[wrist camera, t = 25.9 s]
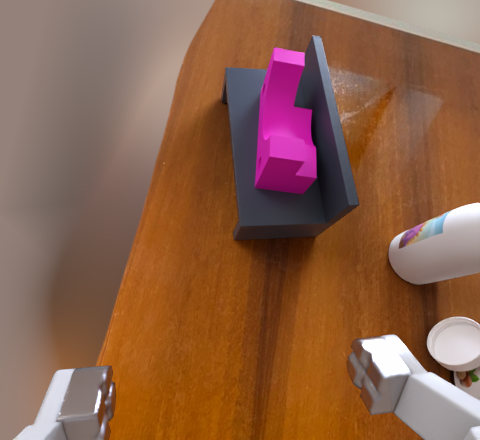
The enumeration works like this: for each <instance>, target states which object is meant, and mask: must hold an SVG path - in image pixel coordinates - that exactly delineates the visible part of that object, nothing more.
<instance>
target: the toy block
mask: <svg viewBox="0 0 480 440" xmlns="http://www.w3.org/2000/svg"><path fill="white" fill-rule="evenodd" d="M304 66H305V53H301V52H295V51H290V50H285V49H280V48H275V47H274V50H273V53H272V56H271V60H270V63H269V66H268V69H267V73H266V76H265V79H264V82H263V86H262V89H261V92H260V109H259V126H258V143H257V159H256V176H255V188H260V189H268V190H275V191H282V192H290V193H297V194H304V192H305V191H306V190H307V189H308V188H309V186H310V185H311V184H312V183H313V182H314V181H315V179H316V178H317V177H316V147H315V146H314V144H313V142H312V138H311V117H312V110H310V109H305V108H299V107H294V102H295V97H296V92H297V88H298V84H299V81H300V78H301V74H302V72H303V69H304Z"/></svg>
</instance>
